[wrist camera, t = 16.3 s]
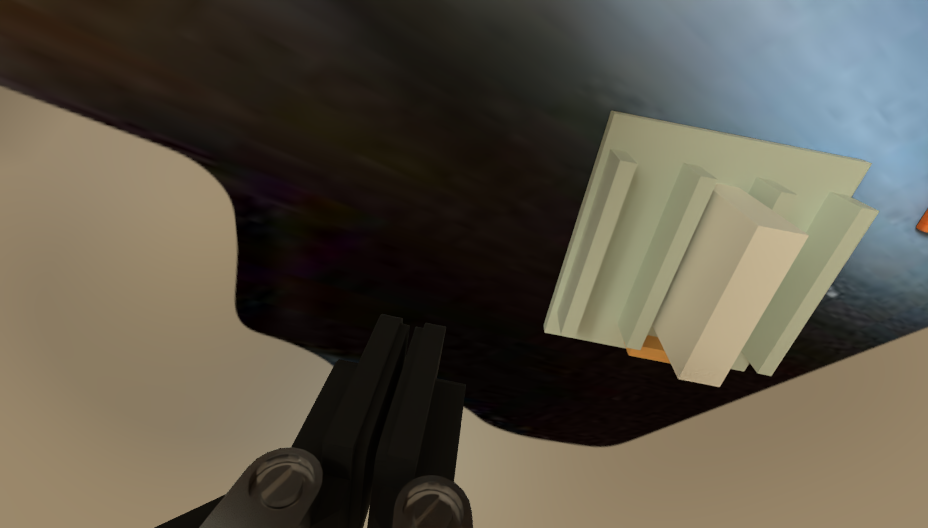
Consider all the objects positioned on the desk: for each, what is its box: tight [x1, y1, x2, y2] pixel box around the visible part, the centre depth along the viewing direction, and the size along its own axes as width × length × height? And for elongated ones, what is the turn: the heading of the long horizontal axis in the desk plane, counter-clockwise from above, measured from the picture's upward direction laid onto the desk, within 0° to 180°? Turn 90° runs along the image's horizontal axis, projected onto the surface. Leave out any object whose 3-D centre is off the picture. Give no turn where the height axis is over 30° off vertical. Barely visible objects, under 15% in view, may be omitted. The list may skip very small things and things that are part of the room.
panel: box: [652, 183, 809, 387], centre depth 33 cm, size 12×3×9 cm, turn 170°
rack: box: [544, 110, 879, 376], centre depth 36 cm, size 20×19×5 cm
